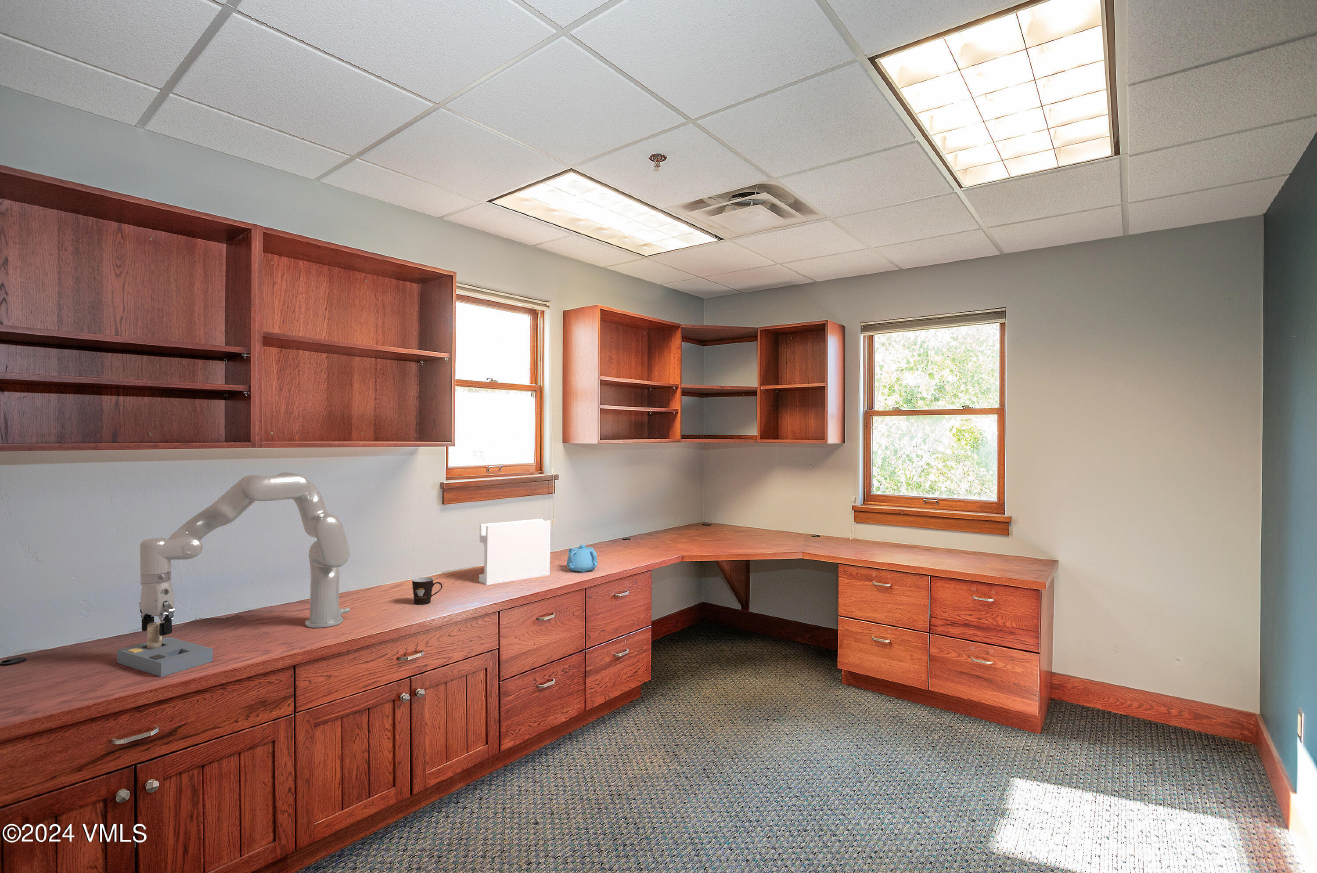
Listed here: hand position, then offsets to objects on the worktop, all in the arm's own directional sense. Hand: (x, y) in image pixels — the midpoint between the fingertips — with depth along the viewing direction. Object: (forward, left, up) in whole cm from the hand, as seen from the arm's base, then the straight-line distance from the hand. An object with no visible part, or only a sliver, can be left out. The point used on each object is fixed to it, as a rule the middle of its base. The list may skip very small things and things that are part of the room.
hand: (156, 632), depth 197 cm
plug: (+1, 0, -7) cm, 7 cm away
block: (-141, +29, -8) cm, 145 cm away
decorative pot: (-173, +48, -8) cm, 180 cm away
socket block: (+1, +6, -8) cm, 10 cm away
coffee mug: (-86, +25, -8) cm, 90 cm away
